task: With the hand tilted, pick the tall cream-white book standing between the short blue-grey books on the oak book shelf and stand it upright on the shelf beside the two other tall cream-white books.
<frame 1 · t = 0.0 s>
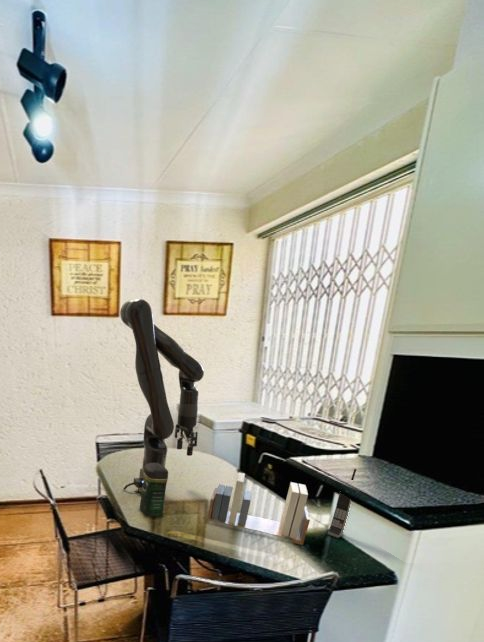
hand: (184, 452, 161), 17 cm above the table, tool pointing down, fingers open, 8 cm apart
vintage mobile phone: (334, 535, 140), on the table
coffee jar: (150, 512, 144), on the table
grey books: (231, 504, 141), point 6 cm above the table
white book: (232, 517, 142), point 1 cm above the table, touching book shelf
white books: (293, 509, 134), point 10 cm above the table
book shelf: (253, 526, 140), on the table
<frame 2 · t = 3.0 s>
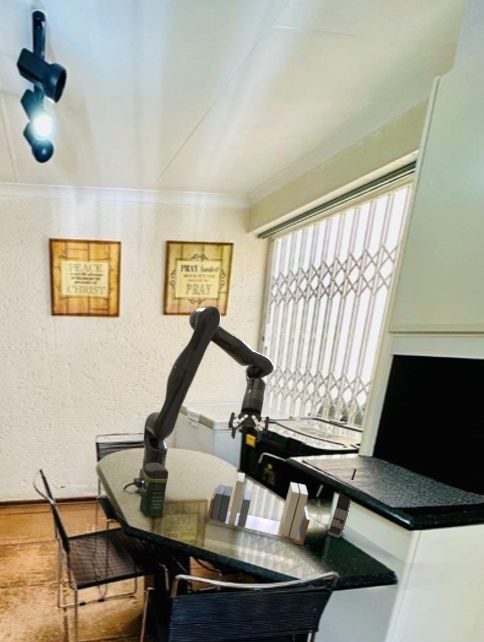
hand: (245, 439, 144), 28 cm above the table, tool tilted 40°, fingers open, 8 cm apart
nothing on the table moved.
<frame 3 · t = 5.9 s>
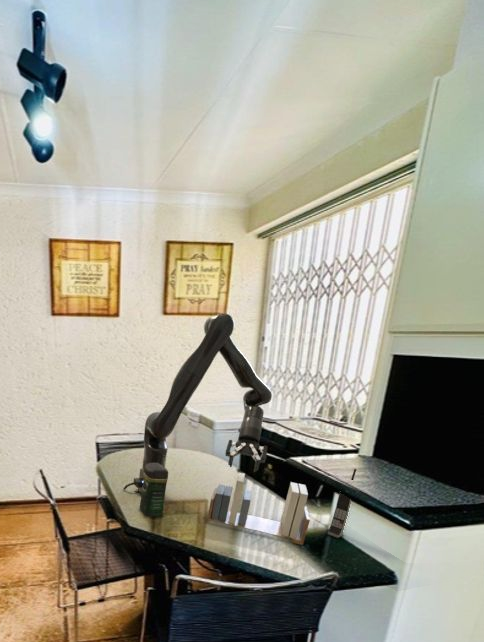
hand: (242, 468, 141), 19 cm above the table, tool tilted 45°, fingers open, 8 cm apart
nothing on the table moved.
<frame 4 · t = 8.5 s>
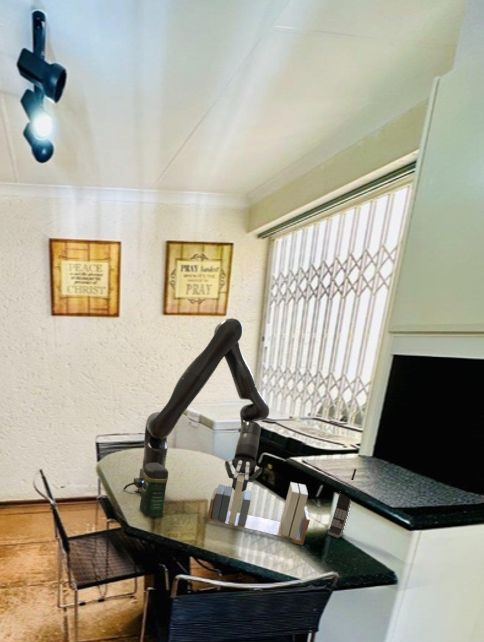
hand: (238, 489, 136), 13 cm above the table, tool tilted 45°, fingers closed on white book, 2 cm apart
white book: (232, 517, 142), point 2 cm above the table, touching book shelf, gripper
everything else where it was.
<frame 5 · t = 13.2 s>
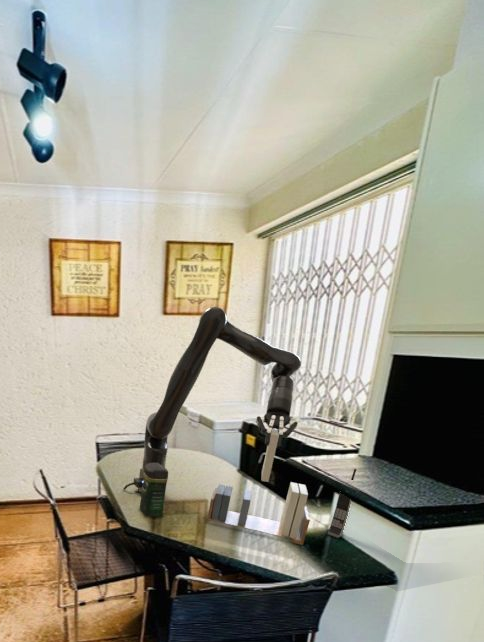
hand: (272, 445, 128), 31 cm above the table, tool tilted 45°, fingers closed on white book
white book: (264, 476, 134), point 19 cm above the table, touching gripper
everything else where it was.
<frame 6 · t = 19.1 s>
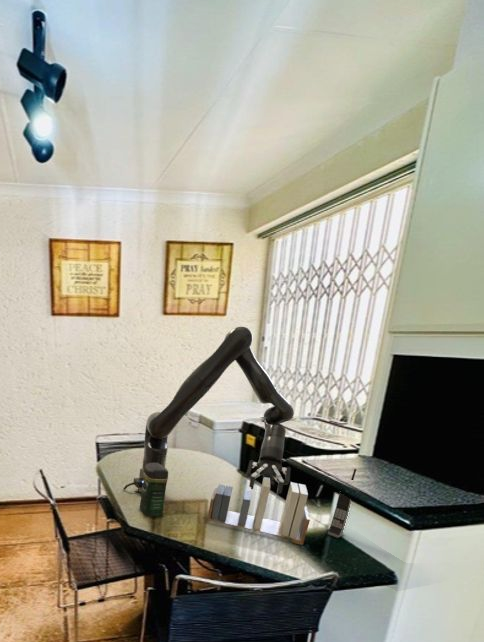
hand: (265, 490, 134), 15 cm above the table, tool tilted 45°, fingers open, 8 cm apart
white book: (257, 523, 139), point 1 cm above the table, touching book shelf
everything else where it was.
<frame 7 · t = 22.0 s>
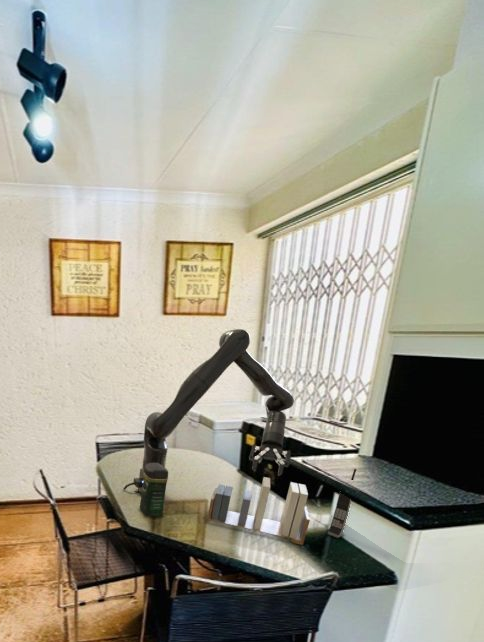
hand: (266, 472, 144), 17 cm above the table, tool tilted 45°, fingers open, 8 cm apart
nothing on the table moved.
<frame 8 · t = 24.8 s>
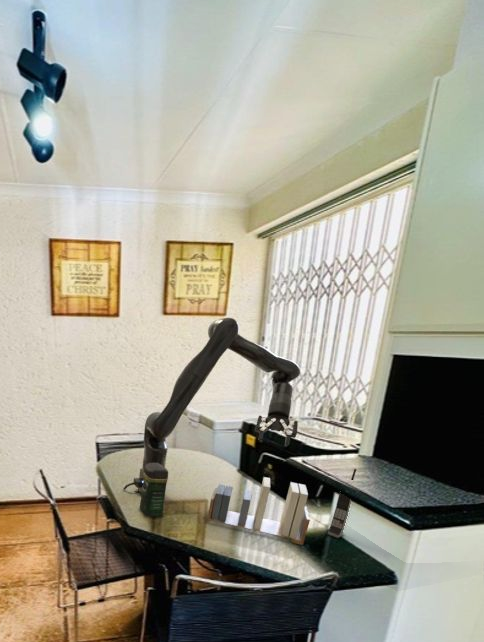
hand: (273, 443, 141), 29 cm above the table, tool tilted 45°, fingers open, 8 cm apart
nothing on the table moved.
at the end: white book 0.0 cm from the target spot, point 1.5 cm above the table; white book tilted 0°; the gripper is holding nothing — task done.
